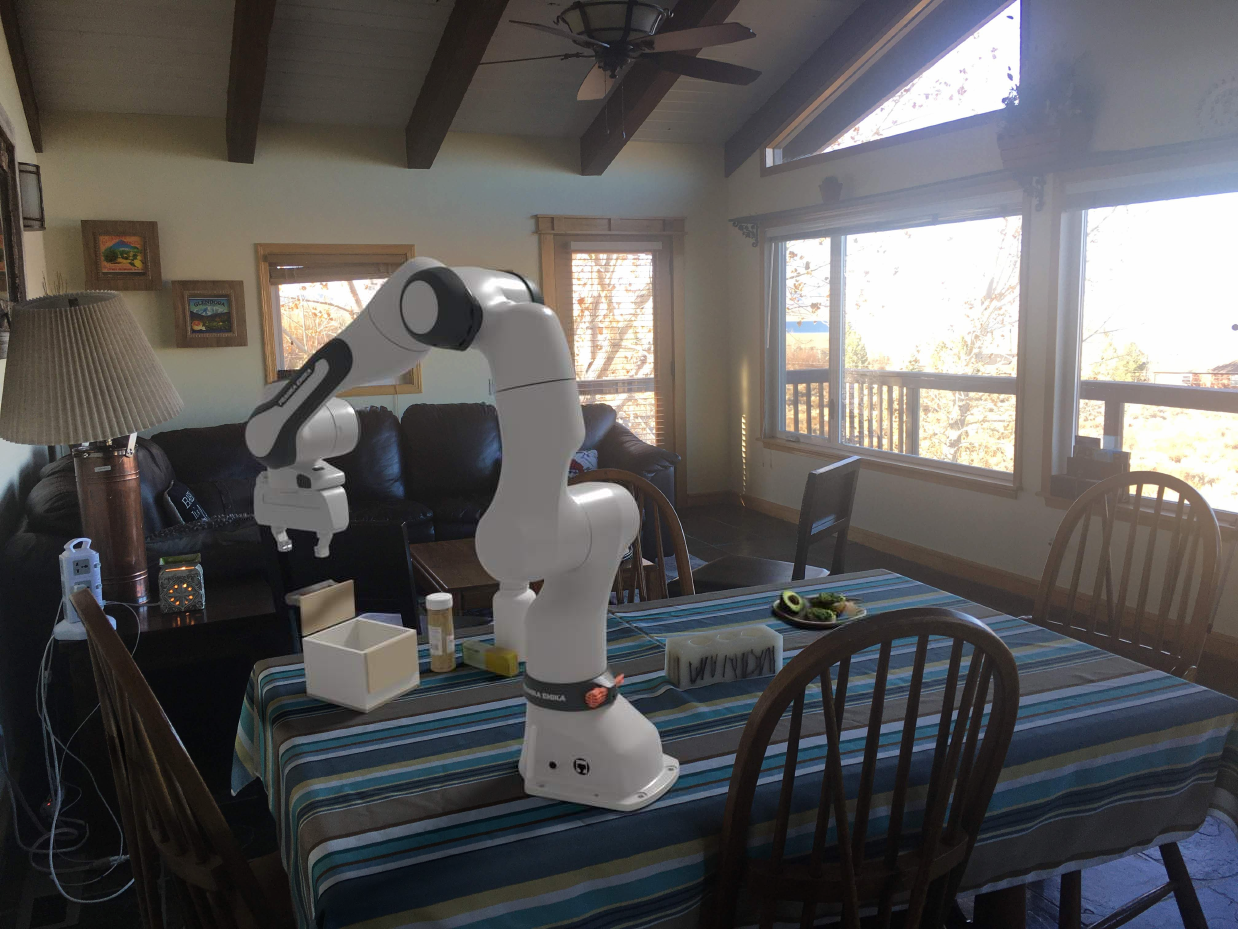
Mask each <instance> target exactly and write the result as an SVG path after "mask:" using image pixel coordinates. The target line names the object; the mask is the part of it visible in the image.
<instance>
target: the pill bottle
mask: <svg viewBox="0 0 1238 929" xmlns="http://www.w3.org/2000/svg"><path fill="white" fill-rule="evenodd" d="M536 596H537V594H536V593H535V592H534V591H533V589H531V588H530V582H521V583H504V582H500V581H499V590H498V591H497V592H496V593H495V594H494V596H493V597H492V612H493V637H494V638H493V640H494V646H495V647H499V648H502V649H505V650H509V651H512V652H516V653H518V663H524V662H525V663H526V657H525V634H524V618H525V614H526V611H527V609H528V607H529V606H530V604H531V603H532V601H533V600H534V599H535V598H536Z"/></svg>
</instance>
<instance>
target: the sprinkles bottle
mask: <svg viewBox="0 0 1238 929" xmlns="http://www.w3.org/2000/svg"><path fill="white" fill-rule="evenodd" d="M425 605H426V606H425V607H426V611H427V628H428V630H427V631H428V643H429V652H430V670H432V671H433V672H436V673H445V672H446V673H447V672H451V671H453V670H454V669H455V668H456V667H457V663H456V654H455V653H456V652H455V648H456V647H455V635H454V623H453V610H452V608H453V605H454V604H453V596H452V594H451V593H447V592H437V593H436V592H435V593H431V594H429V595H427V596H426V597H425Z"/></svg>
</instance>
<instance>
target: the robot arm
mask: <svg viewBox="0 0 1238 929" xmlns="http://www.w3.org/2000/svg"><path fill="white" fill-rule="evenodd" d="M433 348H436V349H441V350H450V351H456V352H460V353H461V352H466V351H467V350H468V349H472V350H478V351H479V352H480V353H482V354H483V356H484V357H485V358H486V360H487V362H488V366H489V369H490V375H491V382H492V388H493V393H494V399H495V400H494V401H495V405H496V413H497V417H498V419H497V420H498V424H499V431H500V440H501V447H502V448H501V452H502V453H501V454H502V458H501V459H502V460H501V469H500V475H499V481H498V484H497V489H496V490H495V494H494V496H493V499H492V501H491V503H490V505H489V507H488V508H487V510H486V512H484V514H483V516H482V517H481V518H480V519H479V521H478V523H477V527H476V531H475V538H474V539H475V541H474V543H475V550H476V551H475V552H476V555H477V558H478V560H479V562H480V564H481V566H482V567H483V569H484V570H485V571H486V572H487V573H488V575H490V576H491V577H492V578H493V579H494V580H495V581H498V582H499V583H500V582H504V583H521V582H529V583H534V582H539V581H541V580H544V582H543V584H542V587H541V589H540V591H539V592H538V594H536V598H535V599H534V600H533V601H532V603H531V604H530V606H529V607H528V609H527V611H526V614H525V618H524V634H525V657H526V661H525V667H524V669H523V672H522V673H523V674H522V676H523V677H522V684H523V697H524V699H526V710H525V711H526V714H525V729H524V737H523V743H522V749H521V754H520V757H519V760H518V764H517V765H518V771H519V773H520V775H521V777H522V778H523V779H524V787H523V788H524V792H525V793H526V794H528V795H531V796H538V797H542V798H543V797H544V798H548V799H554V800H559V801H560V800H561V801H565V802H571V803H575V804H576V803H577V804H583V805H586V806H587V805H588V806H594V807H597V808H604V809H605V808H606V809H610V810H616V811H623V812H631V811H634V810H638V809H640V808H643V807H646V806H648V805H650V804H652V803H653V802H655V801H657V799H659V798H660V797H662V796H663V795H664V794H665V793H667V792H668V790H670V789H671V788H672V786H673V785H674V784H675V783H676V781H677V780H678V778H679V776H680V769H681V768H680V762H679V760H678V759H677V758H674V757H672V756H671V755H668V754H666V753H663V747H662V740H661V737H660V733H659V731H658V729H657V727H656V726H655V725H654V724H653V723H652V722H651V721H650V720H648V719H647V718H646V717H645V716H644V715H643V714H642V713H641V712H640V711H639V710H637V709H636V708H635V706H633V705H632V704H631V703H630V702H629V701H628V700H627V699H626V698H625V697H623V696H622V694H620V692H619V691H620V690H619V686H620V685H622V684H623V683H624V682H625V680H624V679H623V678H624V676H625V674H624V673H621V674H620V675H618V676H616V678H615V677H614V673H613V671H612V669H611V667H610V666H611V665H610V664H609V663H608V662H607V614H608V606H609V601H610V597H611V592H612V588H613V584H614V581H615V578H616V575H617V572H618V569H619V566H620V564H621V561H622V559H623V557H624V556H625V554H626V552H627V550H628V548H629V547H630V546H631V544H632V543H633V542H634V541H635V539H636V537H637V536H638V534H639V530H640V525H641V516H640V510H639V508H638V504H637V502H636V500H635V498H634V496H633V495H632V494H631V492H630V491H629V490H628V489H627V488H625V487H624V486H622V485H620V484H617V483H615V482H614V483H613V482H606V481H605V482H602V481H586V482H582V483H577V484H574V485H573V484H572V485H568V480H569V479H568V477H569V470H570V467H571V463H572V460H573V458H574V456H575V454H576V453H577V452H578V451H579V450H580V449H581V447H582V446H583V444H584V441H585V438H586V427H585V420H584V416H583V415H584V414H583V410H582V409H583V408H582V403H581V398H580V391H579V386H578V381H577V376H576V370H575V367H574V362H573V357H572V354H571V351H570V347H569V343H568V341H567V338H566V334H565V332H564V328H563V326H562V324H561V321H560V319H559V317H558V315H557V314H556V313H555V311H553V310H552V309H551V308H550V307H548V306H547V305H546V304H545V298H544V295H543V293H542V290H541V289H540V287H539V286H538V285H537V283H536V282H535V281H534V280H532V279H531V278H529V277H528V276H525V275H524V274H520V273H519V272H514V271H510V270H509V271H508V270H504V271H499V270H495V269H488V268H483V267H480V266H479V267H478V266H450V267H448V266H447V265H445V264H444V263H442V262H441V261H439V260H437V259H435V258H431V257H427V256H417V257H413V258H411V259H408V260H407V261H406V262H405V263H403V264H402V265H401V266H399V268H397V269H396V270H395V271H394V272H393V273H392V274H391V275H390V276H389V277H388V278H387V279H386V281H384V283H382V285H381V286H380V287H379V289H378V290H376V292H375V293H374V295H373V296H372V297H371V299H370V301H369V302H368V303H367V304H366V306H365V307H363V309H362V310H361V311H360V313H359V314H358V315H357V316H356V317H355V318H354V319H353V320H351V322H350V323H349V324H348V325H347V326H346V327H345V328H343V329H342V330H341V331H340V332H338V333H337V334H336V335H334V336H333V338H331V339H329V340H328V341H327V342H326V343H324V344H323V345H322V346H320V347H319V348H318V349H317V350H316V351H315V352H314V353H313V354H312V355H311V356H310V357H309V358H308V359H307V360H306V361H305V362H304V363H303V364H302V366H300V368H299V369H298V370H297V371H296V372H295V373H294V374H293V375H292V376H291V377H287V378H283V379H282V378H281V379H276V380H273V381H270V382H269V383H267V384H266V385H265V386H264V388H263V392H262V403H261V404H259V405H257V406H256V407H255V408H254V409H253V411H252V413H250V415H249V417H248V419H247V421H246V424H245V427H244V432H243V434H244V435H243V436H244V438H243V439H244V444H245V447H246V449H247V450H248V452H249V453H250V455H251V456H252V457H253V458H254V459H255V460H256V461H258V462H259V463H260V464H262V465H263V466H265V467H267V469H266V471H265V470H264V471H260V473H259V474H258V476H257V477H256V478H255V479H256V480H255V486H254V490H253V511H254V512H253V514H254V515H253V516H254V518H255V521H256V523H258V525H264V526H270V528H271V533H272V535H273V537H274V538H275V540H276V542H277V550H278V551H279V552H289V551H291V550H292V549H293V546H292V544H293V543H292V539H289V537H288V535H287V532H286V530H288V529H294V530H300V531H301V530H302V531H309V532H316V538H318V539H319V540H318V543H317V546H314V547H313V548H314V556H316V557H317V558H325V557H328V556H329V555H330V549H329V545H330V543H331V540H332V538H333V535H334V534H336V533H339V532H342V531H345V530H346V529H347V528H348V525H349V523H350V522H349V521H350V520H349V518H350V517H349V505H348V498H347V493H346V490H345V489H344V488H343V486H341V485H343V484H345V482H346V477H345V472H344V471H342V470H340V469H338V468H336V467H335V466H333V465H330V464H329V463H328V462H326V461H324V459H328V458H333V457H338V456H343V455H345V454H347V453H350V452H351V453H352V451H353V450H355V448H356V447H357V445H358V443H359V441H360V439H361V434H362V424H361V420H360V416H359V414H358V411H357V409H356V408H355V407H354V406H353V405H352V403H350V402H349V401H348V400H346V399H344V398H338V397H336V396H338V395H339V394H341V393H344V392H345V391H348V390H350V389H353V388H355V387H358V386H361V385H362V386H364V385H366V384H370V383H374V382H379V381H384V380H388V379H392V378H393V379H394V378H396V377H399V376H402V375H403V374H406V373H407V372H409V371H410V370H411V369H413V368H414V367H416V366H417V365H418V364H419V363H420V362H422V360H423V359H424V358H425V357H426V356H427V355H428V354H429V352H430V351H431V349H433ZM287 528H288V529H287Z"/></svg>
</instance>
